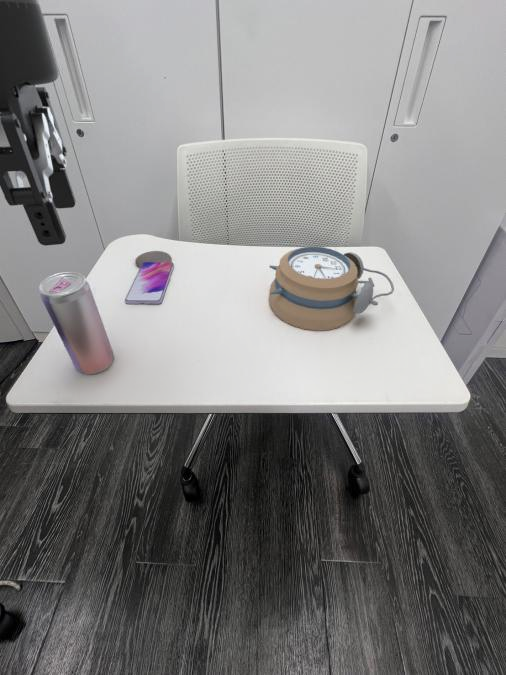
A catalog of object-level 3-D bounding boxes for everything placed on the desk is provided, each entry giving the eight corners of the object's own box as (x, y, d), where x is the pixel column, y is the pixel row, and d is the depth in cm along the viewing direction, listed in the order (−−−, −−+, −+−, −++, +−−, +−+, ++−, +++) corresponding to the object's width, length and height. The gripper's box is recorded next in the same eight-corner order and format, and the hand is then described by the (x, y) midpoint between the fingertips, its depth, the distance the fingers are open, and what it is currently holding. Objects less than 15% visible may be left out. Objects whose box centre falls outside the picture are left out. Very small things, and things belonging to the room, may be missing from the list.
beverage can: (67, 371, 53) (25, 291, 43) (90, 345, 57) (58, 267, 47) (101, 379, 52) (66, 300, 42) (122, 353, 56) (96, 274, 46)
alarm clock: (270, 238, 68) (386, 242, 68) (267, 277, 74) (373, 281, 74) (272, 286, 55) (414, 291, 55) (268, 329, 61) (396, 333, 61)
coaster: (128, 266, 76) (128, 264, 75) (147, 250, 81) (146, 248, 81) (160, 273, 74) (160, 271, 74) (177, 256, 80) (177, 254, 80)
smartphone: (123, 301, 65) (142, 261, 76) (124, 305, 66) (143, 265, 77) (160, 301, 65) (174, 261, 76) (161, 305, 66) (175, 265, 77)
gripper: (-49, -3, 27) (33, 200, 38) (-150, -17, 17) (0, 263, 28) (52, 2, 29) (103, 195, 40) (13, -8, 19) (95, 254, 30)
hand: (60, 223), depth 34 cm, fingers open, 8 cm apart
